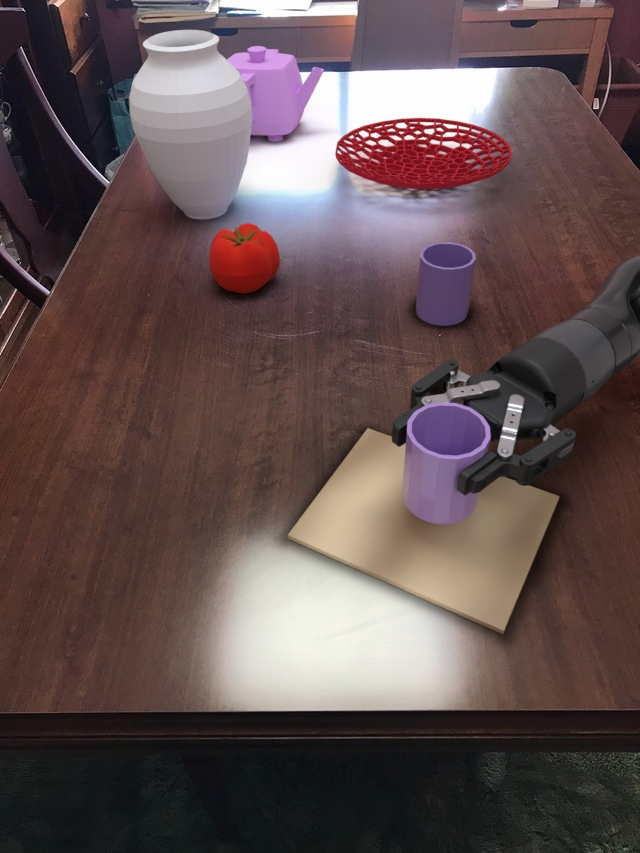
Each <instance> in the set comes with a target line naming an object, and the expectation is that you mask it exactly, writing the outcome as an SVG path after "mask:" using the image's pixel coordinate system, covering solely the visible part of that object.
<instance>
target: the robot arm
mask: <svg viewBox="0 0 640 853" xmlns="http://www.w3.org/2000/svg"><path fill="white" fill-rule="evenodd" d="M639 355H640V255H634V256H632V257H629V258H627V259H624V260H623V261H622V262H620V263H619V264H617V266H615V267H613V269H612V270H610V272H609V273H608V274H607V276H606V277H605V278H604V279H603V281H602V282H601V284H600V285H599V287H598V289H597V291H596V292H595V293H594V295H593V297H592V298H591V300H590V301H589V302H588V303H586V305H585V306H584V307H583V308H581V309H580V310H578V311H576V312H575V313H573V314H571V315H570V316H569V317H567V318H566V319H564V320H562V321H561V322H559V323H557V324H555V325H552V326H549V327H547V328H545V329H544V330H542V331H541V332H539V333H538V334H536V335H534V336H532V337H531V338H530V339H528V340H527V341H525V342H523V343H522V344H520V345H519V346H517V347H516V348H514V349H513V350H511V351H509V352H508V353H506V354H504V355H503V356H502V357H500V358H499V359H497V360H496V361H495V362H494V363H493V364H492V365H491V366H490V367H489V369H487V371H485V372H482V373H475V374H473V375H469V374H467V373H466V372H464V371H462V370H460V369H459V365H460V362H459V361H458V360H457V359H453V358H452V359H451V358H450V359H447V360H445V361H444V362H443V363H441V364H440V365H439V366H437V367H436V368H434V369H433V370H432V371H430V372H428V373H427V374H426V375H424V376H423V377H421V378H420V379H419V380H418V381H416V382H415V383H413V384H412V385H411V391H410V404H409V409H408V411H406V412H404V413H403V414H401V415H400V416H398V417H396V418H395V419H394V421H393V423H392V430H391V436H392V442H393V443H394V444H395V445H397V446H398V447H400V446H402V445H404V444H405V443H406V433H407V422H408V420H409V418H410V417H411V416H412V414H413V413H414V412H415V411H416V410H418V409H420V408H422V407H423V406H425V405H429V404H434V403H438V402H447V403H457V404H461V402H463V403H462V405H464V406H467V407H470V408H472V409H473V410H475V411H476V412H478V413H479V414H481V415H482V416H483V417H484V419H485V420H486V422H487V423H488V425H489V426H490V434H491V439H490V442H495V441H497V442H498V445H497V448H496V449H497V450H496V452H493V451H491V450H490V451H488V453H487V454H485V455H484V456H483V457H482V458H480V459H479V460H477V461H476V462H475V463H473V464H472V465H470V466H469V467H468V468H466V469H465V470H464V471H462V473H461V474H460V475H459V478H458V485H457V491H459V492H460V493H462V494H463V495H467V494H468V493H470V492H471V493H473V494H475V493H478V492H480V491H482V490H483V489H484V488H486V487H487V486H488V485H490V484H491V483H492V482H494V481H495V480H496V479H497V478H499V477H509V478H513V479H514V480H515V481H516V482H517V483H518V484H519V485H522V486H527V485H529V486H530V485H531V484H532V483H534V482H535V481H537V480H538V479H540V478H541V477H543V476H544V475H545V474H547V473H548V472H550V471H552V470H553V469H554V468H556V467H558V466H559V465H561V464H562V463H564V462H565V461H567V460H569V458H570V457H571V453H572V450H573V447H574V444H575V441H576V437H577V432H576V431H575V430H573V429H571V428H568V427H567V428H563V429H561V430H560V429H559V428H557V427H555V426H554V425H556V424H557V423H558V422H559V421H561V420H562V419H564V418H565V417H566V416H568V415H569V414H570V413H571V412H573V411H574V410H575V409H576V408H578V407H579V406H581V405H582V404H585V403H586V402H588V401H589V400H590V399H591V398H592V397H593V395H596V393H597V392H598V391H599V390H600V389H601V388H602V387H603V386H604V384H606V383H607V382H609V380H611V379H612V378H614V377H615V376H617V374H619V373H620V372H622V371H623V370H624V369H625V368H627V367H628V366H629V365H631V364H632V363H633V362H634V361H635V360H636V359H637V357H638V356H639ZM540 439H542V441H541V442H540V443H539V444H537V445H536V446H534V447H533V448H531V449H530V450H528V451H527V452H525V453H523V454H521V455H519V454H516V453H514V448H515V445H516V442H520V441H531V440H540Z"/></svg>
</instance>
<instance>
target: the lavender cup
mask: <svg viewBox="0 0 640 853" xmlns="http://www.w3.org/2000/svg"><path fill="white" fill-rule="evenodd" d="M490 439H491V434H490V426H489V425H488V423H487V422H486V420H485V419H484V417H483V416H482V415H481V414H479V413H478V412H476V411H475V410H473V409H472V408H470V407H467V406H464V405H463V404H461V403H459V404H457V403H447V402H438V403H434V404H429V405H425V406H423V407H422V408H420V409H418V410H416V411H415V412H414V413H413V414H412V416H411V417H410V418H409V420H408V422H407V433H406V446H405V459H404V472H403V486H402V497H403V501H404V503H405V505H406V507H407V508H408V509H409V510H410V511H411V512H412V513H413V514H414V515H415V516H417V517H418V518H420V519H422V520H424V521H427V522H430V523H434V524H453V523H457V522H460V521H462V520H464V519H466V518H467V517H469V516H470V515H471V514H472V513H473V512H474V510H475V508H476V506H477V503H478V500H479V496H480V492H478V493H475V494H473V493H471V492H470V493H468V494H467V495H463V494H462V493H460V492H459V491H457V485H458V478H459V475H460V474H461V473H462V471H464V470H465V469H466V468H468V467H469V466H470V465H472V464H473V463H475V462H476V461H477V460H479V459H480V458H482V457H483V456H484V455H485V454H487V453H488V452H489V449H490V445H491V440H490Z"/></svg>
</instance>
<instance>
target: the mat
mask: <svg viewBox="0 0 640 853" xmlns="http://www.w3.org/2000/svg"><path fill="white" fill-rule="evenodd" d="M405 446H406V443H405V444H404V445H402V446H400V447H398V446H397V445H395V444H394V443H393V442H392V435H388V434H386V433H383V432H381V431H376V430H374V429H372V428H368V427H367V428H366V430H365V431H364V433H363V434H362V435H361V436H360V438H359V439H358V440H357V442H356V443H355V444H354V446H353V447H352V449H351V450H350V451H349V453H347V454H346V457H344V459H343V461H342V462H341V463H340V464H339V466H338V467H337V468H336V469H335V471H334V472H333V474H332V475H331V476H330V477H329V479H328V480H327V481H326V483H325V484H324V486H323V487H322V488H321V490H320V491H319V493H318V494H316V496H315V498H314V499H313V500H312V502H311V503H310V504H309V506H308V507H307V508H306V510H305V511H304V512H303V514H302V515H301V516H300V518H299V519H298V520H297V521H296V523H295V525H294V526H293V527H292V529H291V530H290V531H289V532H288V534H287V539H288V540H290V541H293V542H295V543H297V544H299V545H301V546H304V547H306V548H308V549H310V550H313V551H315V552H317V553H319V554H321V555H323V556H327V557H328V558H331V559H332V560H334V561H337V562H339V563H342V564H344V565H346V566H348V567H350V568H353V569H355V570H358V571H360V572H362V573H364V574H366V575H368V576H370V577H373V578H375V579H378V580H380V581H382V582H384V583H386V584H389V585H391V586H393V587H395V588H398V589H400V590H402V591H405V592H407V593H408V594H411V595H413V596H416V597H418V598H421V599H422V600H424V601H427V602H429V603H431V604H434V605H436V606H438V607H441V608H443V609H445V610H447V611H449V612H452V613H454V614H456V615H458V616H461V617H463V618H465V619H467V620H470V621H472V622H474V623H477V624H478V625H481V626H483V627H485V628H488V629H490V630H492V631H494V632H497V633H499V634H501V635H504V633H505V631H506V629H507V626H508V624H509V621H510V620H511V617H512V614H513V612H514V609H515V607H516V604H517V602H518V599H519V597H520V596H521V592H522V590H523V587H524V585H525V583H526V580H527V578H528V575H529V573H530V570H531V568H532V566H533V563H534V561H535V559H536V556H537V555H538V554H537V553H538V551H539V549H540V547H541V544H542V541H543V539H544V536H545V534H546V532H547V529H548V527H549V525H550V522H551V519H552V517H553V514H554V512H555V510H556V507H557V506H558V503H559V500H560V495H557V494H554V493H551V492H549V491H546V490H543V489H540V488H538V487H534V486H532V485H530V484H529V485H527V486H522V485H519V484H518V483H517V482H516V480H515V479H512V478H511V477H508V476H505V477H499V478H497V479H496V480H495V481H494V482H492V483H491V484H490V485H488V486H487V487H486V488H484V489H483V490H482V491H480V496H479V500H478V503H477V506H476V508H475V510H474V512H473V513H472V514H471V515H470V516H469V517H467V518H466V519H464V520H462V521H460V522H457V523H453V524H434V523H430V522H427V521H424V520H422V519H420V518H418V517H417V516H415V515H414V514H413V513H412V512H411V511H410V510H409V509H408V508H407V507H406V505H405V503H404V501H403V497H402V486H403V472H404V459H405Z"/></svg>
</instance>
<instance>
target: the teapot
mask: <svg viewBox="0 0 640 853" xmlns="http://www.w3.org/2000/svg"><path fill="white" fill-rule="evenodd" d="M226 60H227V61H228V62H229V63H230V64H231V65H232V66H233V67H234V68H236V69H237V70H238V72H239V73H240V75H241V77H242V79H243V81H244V83H245V85H246V87H247V89H248V93H249V97H250V100H251V108H252V127H251V136H267V140H268V141H269V142H272V143H273V142H275V143H276V142H281V141H283V140H284V136H286V135H290V134H291V133H292V132H293V131H294V130H295V129H296V128H297V127H298V125H299V124H300V122H301V120H302V117H303V115H304V112H305V108H306V107H307V105H308V103H309V101H310V99H311V98H312V95H313V93H314V91H315V89H316V87H317V86H318V83H319V81H320V79H321V78H322V76H323V73H324V71H325V69H324V68H321V67H316V66H313V67H312V68H311V72H310V73H309V75H308V76H307V77H306V79H305V81H304V82H303V79H302V76H301V71H300V69H299V66H298V63H297V62H298V61H297V59H296V57H295V56H294V55H293V54H289V53H280V51H279V49H276V48H267V47H265V46H263V45H262V46H261V45H254V46H250V47H249V48H247V51H245V52H236V53H234V54H231V56H229V57H228V58H227V59H226Z"/></svg>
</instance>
